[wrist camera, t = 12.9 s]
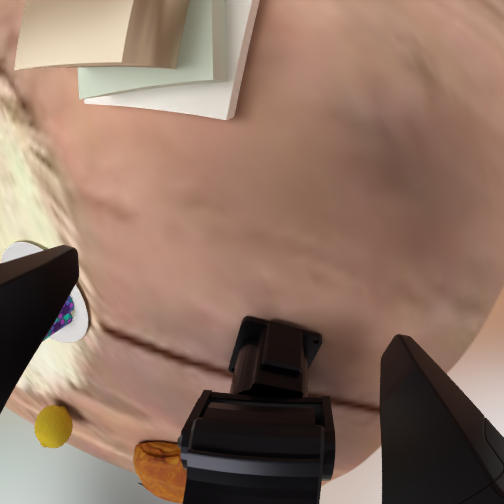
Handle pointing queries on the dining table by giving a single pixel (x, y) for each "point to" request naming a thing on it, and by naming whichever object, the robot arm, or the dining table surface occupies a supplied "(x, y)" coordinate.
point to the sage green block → (188, 65)
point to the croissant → (161, 469)
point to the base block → (205, 94)
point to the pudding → (61, 327)
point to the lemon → (53, 426)
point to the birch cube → (101, 33)
